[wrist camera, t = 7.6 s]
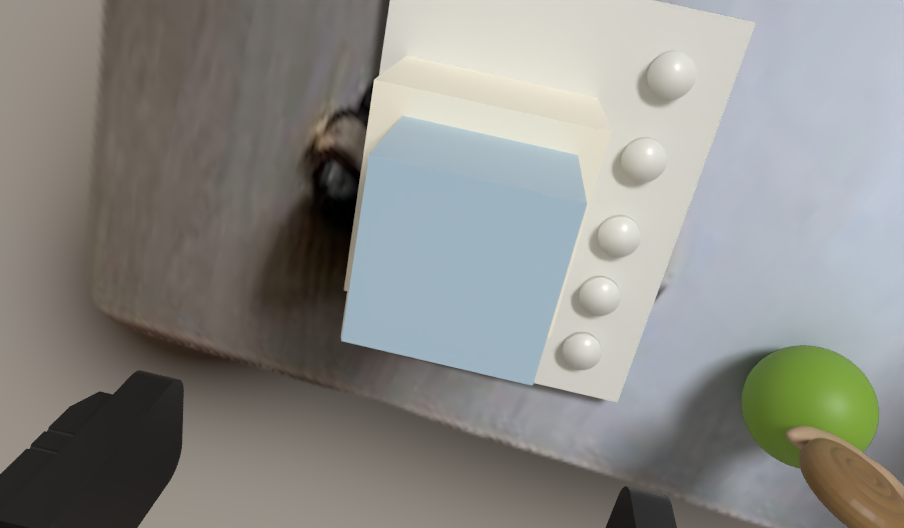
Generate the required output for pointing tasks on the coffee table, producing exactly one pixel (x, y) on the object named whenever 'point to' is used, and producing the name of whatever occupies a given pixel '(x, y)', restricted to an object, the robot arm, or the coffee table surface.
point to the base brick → (487, 119)
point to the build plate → (629, 149)
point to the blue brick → (463, 248)
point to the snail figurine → (824, 431)
